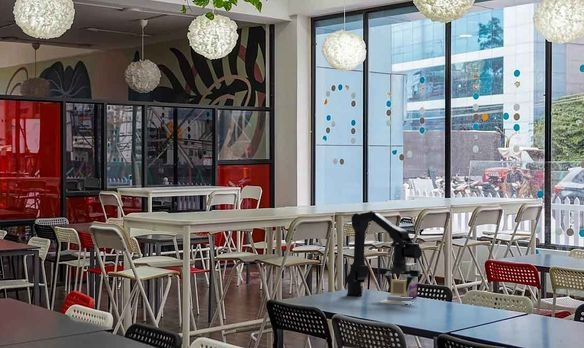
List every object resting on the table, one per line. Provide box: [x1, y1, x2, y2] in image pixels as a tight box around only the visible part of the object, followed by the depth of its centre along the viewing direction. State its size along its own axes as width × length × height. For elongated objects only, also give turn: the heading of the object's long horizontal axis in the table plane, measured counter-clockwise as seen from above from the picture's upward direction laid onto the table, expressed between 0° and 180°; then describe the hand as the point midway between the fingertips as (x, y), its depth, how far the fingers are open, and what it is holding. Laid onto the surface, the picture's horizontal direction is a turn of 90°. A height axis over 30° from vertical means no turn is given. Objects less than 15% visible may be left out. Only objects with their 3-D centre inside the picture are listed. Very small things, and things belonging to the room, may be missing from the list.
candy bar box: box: [400, 262, 418, 298], centre depth 418 cm, size 11×5×16 cm, turn 154°
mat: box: [379, 296, 412, 306], centre depth 399 cm, size 14×14×2 cm
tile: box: [390, 279, 407, 297], centre depth 401 cm, size 7×2×7 cm, turn 71°
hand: (398, 290), depth 401 cm, fingers closed on tile, 7 cm apart
